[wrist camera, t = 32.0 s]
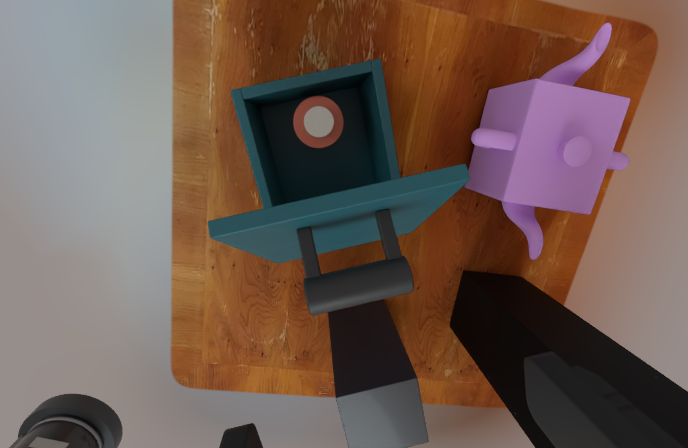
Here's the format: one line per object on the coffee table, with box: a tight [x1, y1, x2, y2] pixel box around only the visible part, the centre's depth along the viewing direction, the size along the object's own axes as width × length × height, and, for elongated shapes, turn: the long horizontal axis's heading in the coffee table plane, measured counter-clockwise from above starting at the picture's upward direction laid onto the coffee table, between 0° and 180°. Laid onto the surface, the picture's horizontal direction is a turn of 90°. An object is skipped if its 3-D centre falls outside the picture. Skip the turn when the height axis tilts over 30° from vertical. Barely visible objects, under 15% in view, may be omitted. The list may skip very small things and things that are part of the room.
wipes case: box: [231, 59, 400, 209], centre depth 32 cm, size 14×12×10 cm
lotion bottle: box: [293, 96, 344, 148], centre depth 31 cm, size 4×4×8 cm
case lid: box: [208, 164, 470, 315], centre depth 22 cm, size 14×12×5 cm
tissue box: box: [450, 271, 688, 448], centre depth 30 cm, size 8×8×28 cm
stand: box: [328, 300, 429, 448], centre depth 36 cm, size 7×7×14 cm
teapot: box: [465, 23, 630, 260], centre depth 33 cm, size 15×13×11 cm
